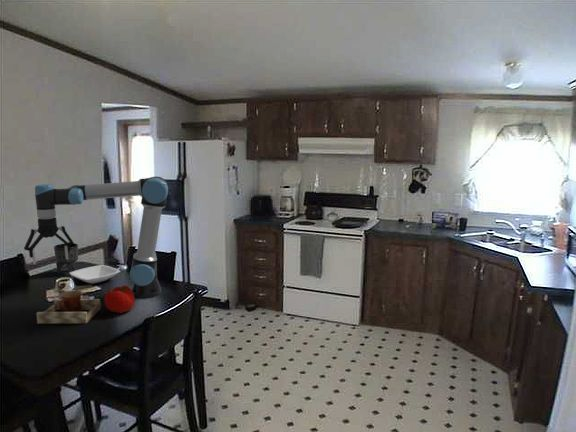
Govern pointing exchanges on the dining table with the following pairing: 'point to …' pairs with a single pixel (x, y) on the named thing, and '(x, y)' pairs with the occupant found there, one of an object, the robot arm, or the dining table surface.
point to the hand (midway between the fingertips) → (51, 261)
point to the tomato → (119, 299)
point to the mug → (71, 301)
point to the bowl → (95, 273)
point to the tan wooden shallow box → (69, 313)
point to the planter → (62, 259)
